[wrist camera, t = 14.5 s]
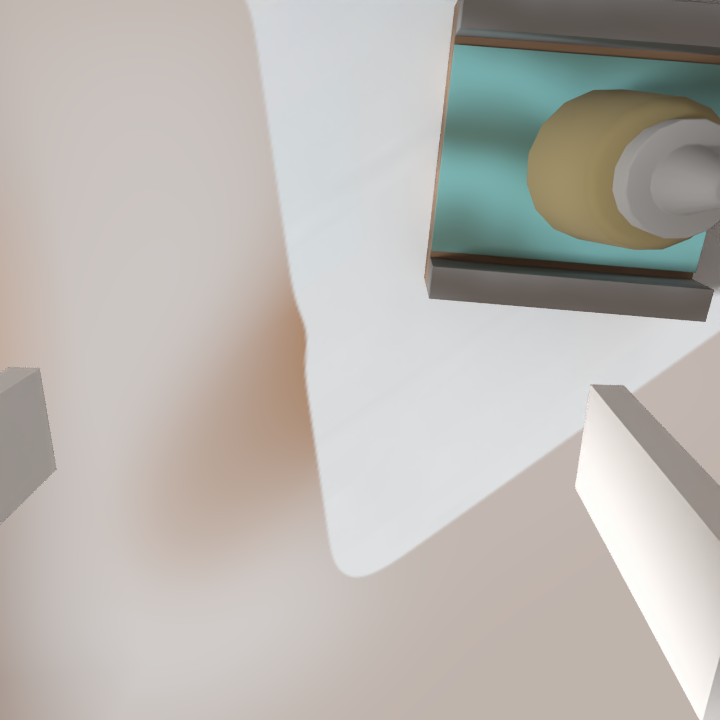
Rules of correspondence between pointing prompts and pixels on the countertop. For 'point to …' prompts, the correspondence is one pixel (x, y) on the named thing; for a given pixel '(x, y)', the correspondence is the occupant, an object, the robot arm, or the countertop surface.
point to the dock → (518, 132)
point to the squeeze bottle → (628, 169)
